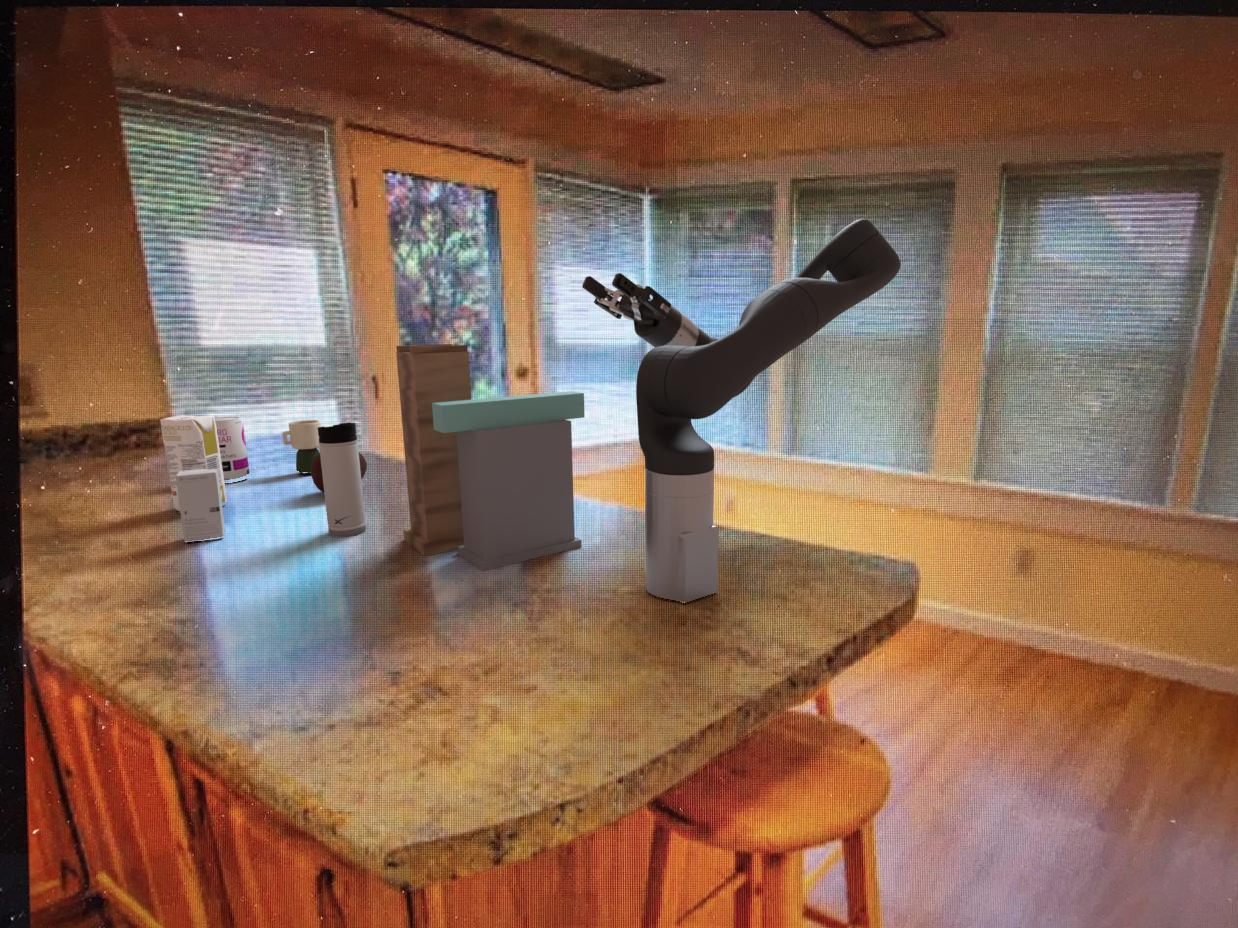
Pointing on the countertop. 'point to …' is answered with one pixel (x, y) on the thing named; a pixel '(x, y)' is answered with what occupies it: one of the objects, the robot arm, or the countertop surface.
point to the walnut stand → (432, 443)
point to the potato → (317, 471)
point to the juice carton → (191, 448)
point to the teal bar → (506, 411)
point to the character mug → (303, 442)
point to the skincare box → (200, 504)
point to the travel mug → (342, 479)
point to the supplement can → (232, 447)
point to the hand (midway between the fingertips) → (599, 279)
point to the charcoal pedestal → (516, 492)
